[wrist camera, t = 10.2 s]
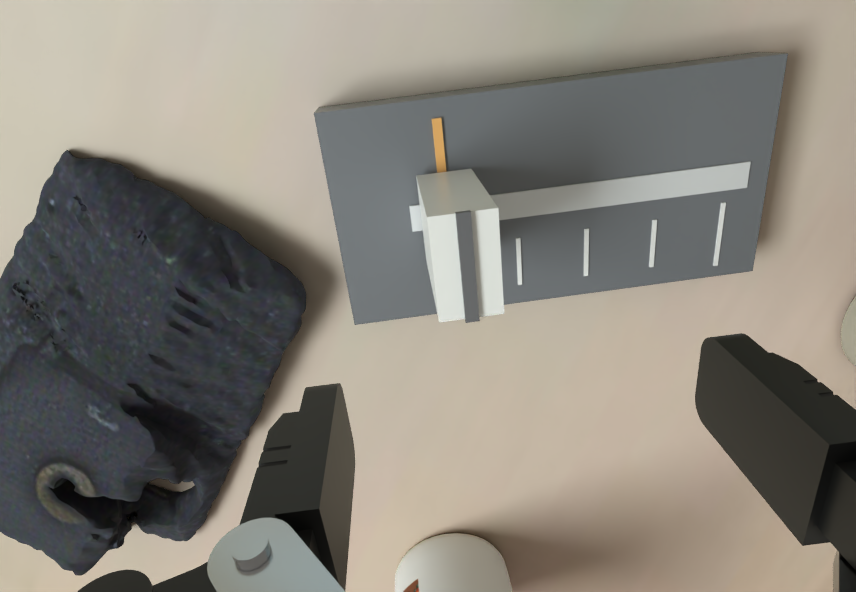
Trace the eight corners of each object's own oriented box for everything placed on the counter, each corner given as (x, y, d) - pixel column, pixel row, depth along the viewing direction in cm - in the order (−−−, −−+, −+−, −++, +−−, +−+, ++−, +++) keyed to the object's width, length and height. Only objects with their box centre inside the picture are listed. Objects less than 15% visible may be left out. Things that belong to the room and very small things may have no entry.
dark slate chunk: (362, 287, 29) (359, 332, 25) (182, 545, 36) (156, 614, 31) (65, 117, 24) (-2, 135, 20) (-76, 451, 31) (-148, 518, 27)
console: (758, 52, 25) (789, 53, 23) (729, 256, 29) (754, 271, 27) (318, 107, 24) (313, 113, 22) (356, 306, 29) (354, 326, 27)
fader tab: (471, 167, 24) (499, 208, 18) (477, 255, 25) (505, 317, 20) (416, 174, 24) (427, 217, 18) (426, 262, 25) (439, 326, 20)
